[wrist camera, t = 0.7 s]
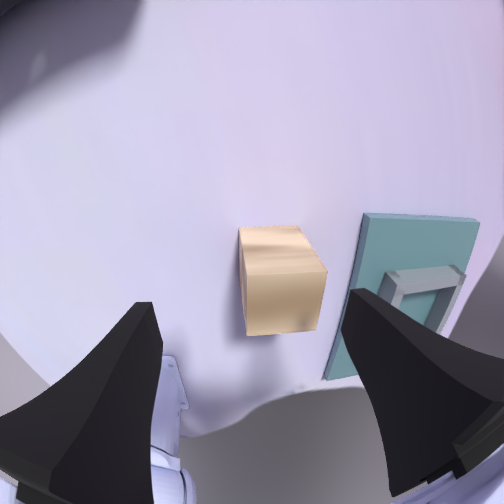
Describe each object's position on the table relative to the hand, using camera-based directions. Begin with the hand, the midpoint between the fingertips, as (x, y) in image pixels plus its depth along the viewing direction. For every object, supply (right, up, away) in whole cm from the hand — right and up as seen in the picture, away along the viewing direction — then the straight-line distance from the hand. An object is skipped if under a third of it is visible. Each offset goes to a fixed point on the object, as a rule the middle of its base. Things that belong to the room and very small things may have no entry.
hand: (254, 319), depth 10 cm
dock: (+15, -3, +14) cm, 20 cm away
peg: (+1, +2, +10) cm, 10 cm away
